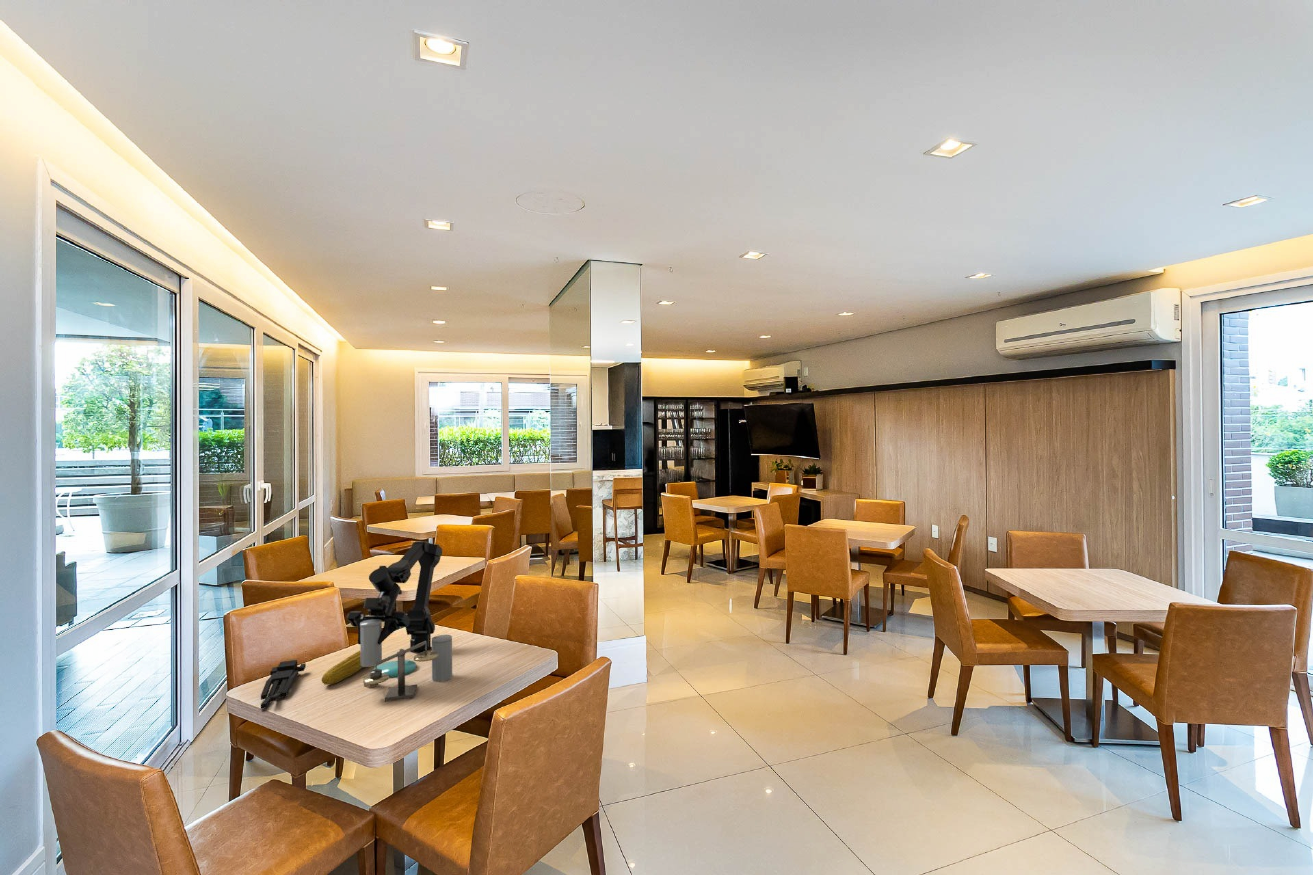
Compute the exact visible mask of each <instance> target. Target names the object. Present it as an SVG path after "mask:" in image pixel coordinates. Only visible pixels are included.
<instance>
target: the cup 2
mask: <svg viewBox="0 0 1313 875" xmlns="http://www.w3.org/2000/svg"><path fill="white" fill-rule="evenodd" d="M431 647H432V649H431V652H437V653H438V657H437V658H436V659H433V660H431V680H432V681H433V682H437V683H438V682H446V681H448V680H449V681H450V680H451V679H452V678H453V636H452V635H450V634H441V635H440V634H439V635H435V636H434V637H432V638H431Z"/></svg>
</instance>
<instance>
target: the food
mask: <svg viewBox="0 0 1313 875" xmlns="http://www.w3.org/2000/svg"><path fill="white" fill-rule="evenodd" d="M363 668H364V667H363V666H361V664H360V650H358V651H355V653H352V655H350V656H348V657H347V658H344V659H343V660H342V661H340V662H339V663H337V664H335V665H333V666H332V667H330V669H328V670H327V671H325V673H324V674H323V675H322V677H321V683H322V684H323V685H324V686H325V685H327V686H329V685H334V684H337V683H338V682H341V681H343V680H344V679H347V678H348V677H351V676H353V675H354V674H355V673H356V672H358V671H360V670H361V669H363Z"/></svg>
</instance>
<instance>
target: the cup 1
mask: <svg viewBox="0 0 1313 875" xmlns="http://www.w3.org/2000/svg"><path fill="white" fill-rule="evenodd" d="M382 624H383V622H382V620H380V619H371V620H366V621H363V622H361V623H360V644H359V646H360V650H359V651H360V664H361V666H363V668H369V667H375V663H376V662H378V661H380V660H383V650H382V649H383V648H382V646H383V644H382V643H383V642H382V643H381V644H378V639H379V637H380V634H381V632H382V630H383V628H382Z"/></svg>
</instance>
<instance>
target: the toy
mask: <svg viewBox="0 0 1313 875" xmlns="http://www.w3.org/2000/svg"><path fill="white" fill-rule="evenodd" d="M306 666H307V664H306V663H305V662H304V663H301V664H300V665H299V666H298V659H291V660H285V661H284V660H283V661H280V662H279V663H278V665H277V666H274V667H272V668H271V670H270V672H269V676H270V677H269V678H268V679H267V680H266V681H265V684H264V686H263V688H262V691H261V694H260V700H263V701H262V702H261V704H260V710H263V709H267V708H268V707H269V705H270V704H271V703H273V702H277V701H279V700H280V699H281V698H284V697H287V696H288V694H289V693H290V690H291V688H292V686H293V683H294V682H295V680H296V679H297V677H298V675H299V672H304V671H305V669H306ZM278 687H279V688H278ZM270 702H271V703H270Z"/></svg>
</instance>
